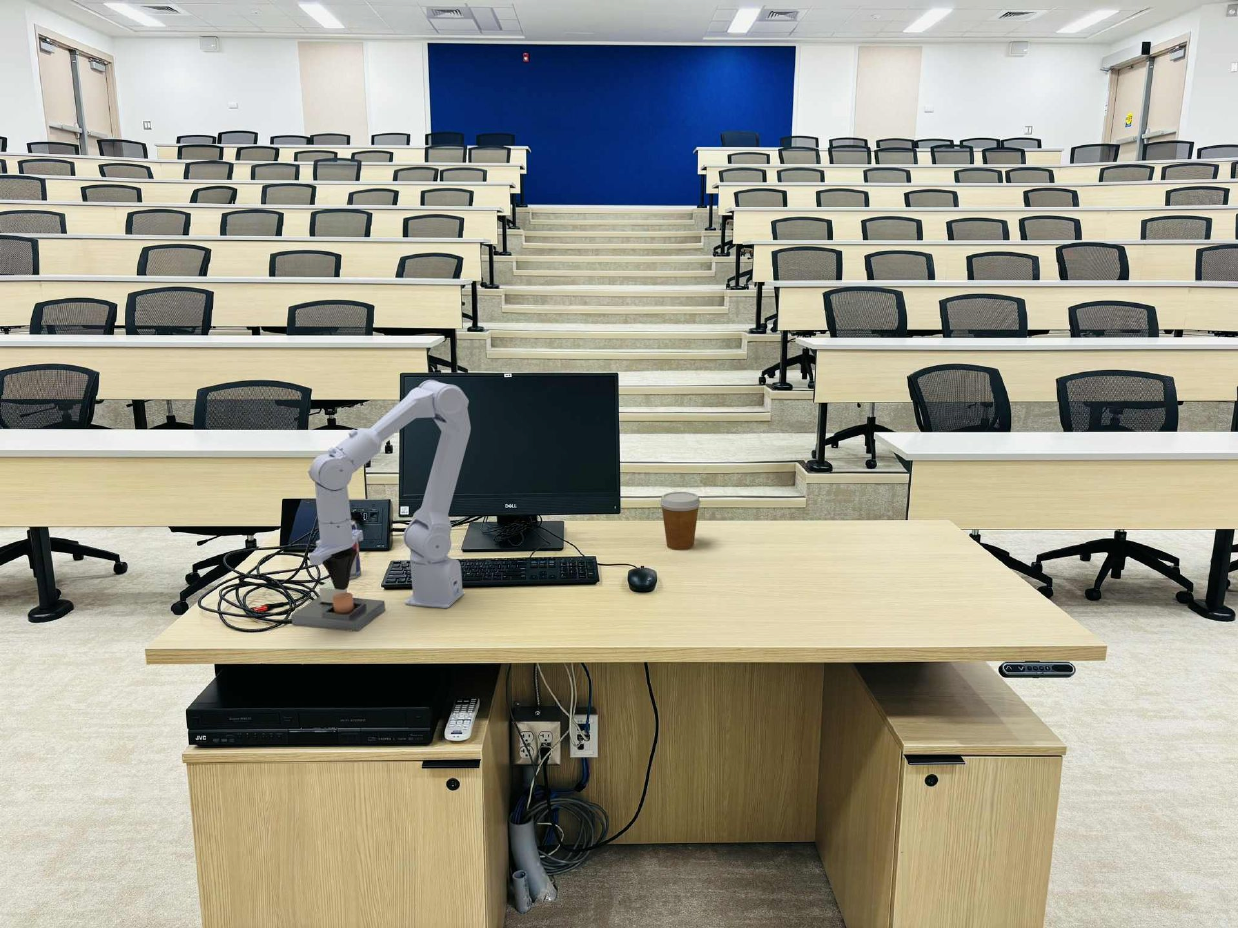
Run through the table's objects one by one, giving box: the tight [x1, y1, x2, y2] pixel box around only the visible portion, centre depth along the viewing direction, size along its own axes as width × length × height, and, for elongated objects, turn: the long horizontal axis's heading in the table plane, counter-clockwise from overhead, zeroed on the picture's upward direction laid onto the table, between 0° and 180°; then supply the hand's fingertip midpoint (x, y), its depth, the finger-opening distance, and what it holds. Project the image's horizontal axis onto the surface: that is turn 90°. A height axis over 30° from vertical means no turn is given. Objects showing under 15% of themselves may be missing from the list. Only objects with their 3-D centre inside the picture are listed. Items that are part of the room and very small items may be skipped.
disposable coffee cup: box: [659, 491, 702, 551], centre depth 202 cm, size 10×10×12 cm
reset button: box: [333, 592, 354, 614], centre depth 164 cm, size 4×4×3 cm
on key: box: [319, 581, 348, 603], centre depth 169 cm, size 4×3×3 cm
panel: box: [290, 595, 386, 632], centre depth 167 cm, size 14×10×3 cm
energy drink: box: [349, 520, 362, 581], centre depth 187 cm, size 5×5×12 cm
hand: (341, 588), depth 163 cm, fingers closed
